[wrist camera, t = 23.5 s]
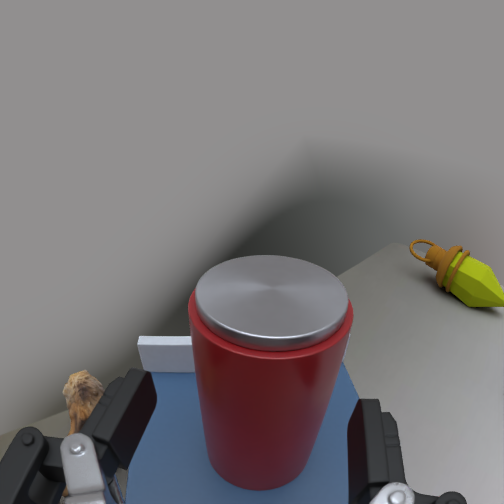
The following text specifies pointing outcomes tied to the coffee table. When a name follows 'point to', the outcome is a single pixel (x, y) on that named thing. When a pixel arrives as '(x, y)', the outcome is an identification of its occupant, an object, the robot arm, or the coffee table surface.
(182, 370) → the blue boxy block
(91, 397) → the lion figurine
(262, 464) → the can
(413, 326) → the coffee table surface
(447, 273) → the plumb bob
